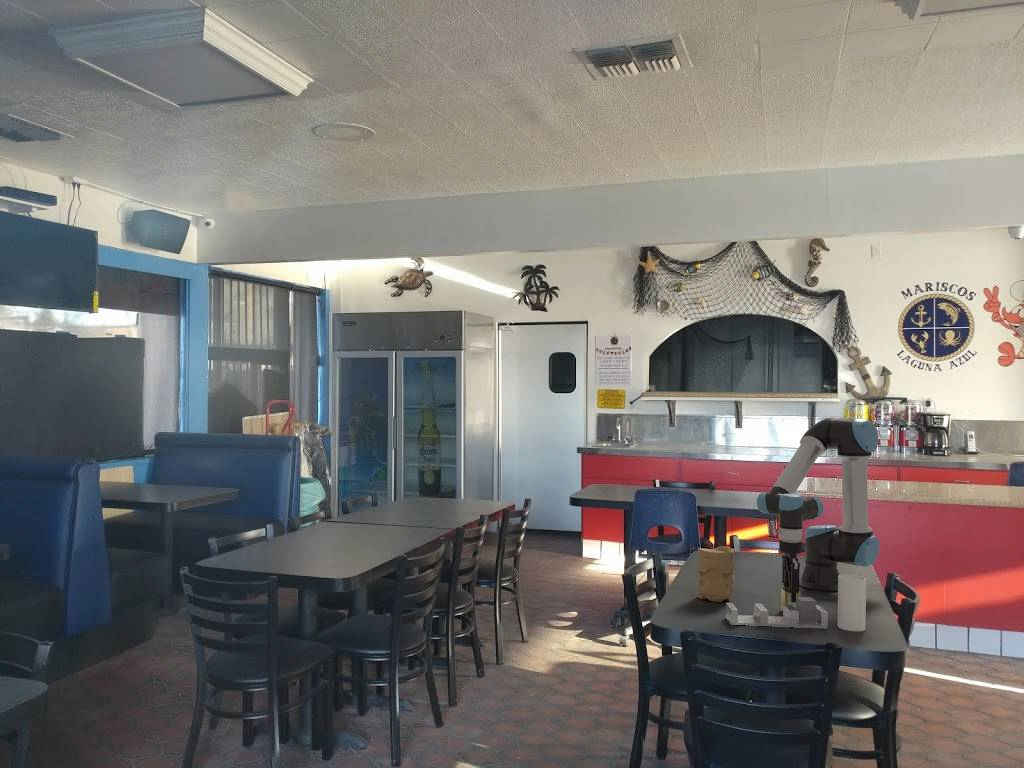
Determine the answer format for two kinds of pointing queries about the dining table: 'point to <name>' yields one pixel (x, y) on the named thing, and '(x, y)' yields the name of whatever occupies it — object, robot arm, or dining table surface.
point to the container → (715, 573)
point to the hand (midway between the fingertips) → (790, 608)
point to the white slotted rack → (800, 617)
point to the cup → (851, 602)
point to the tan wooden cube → (785, 596)
